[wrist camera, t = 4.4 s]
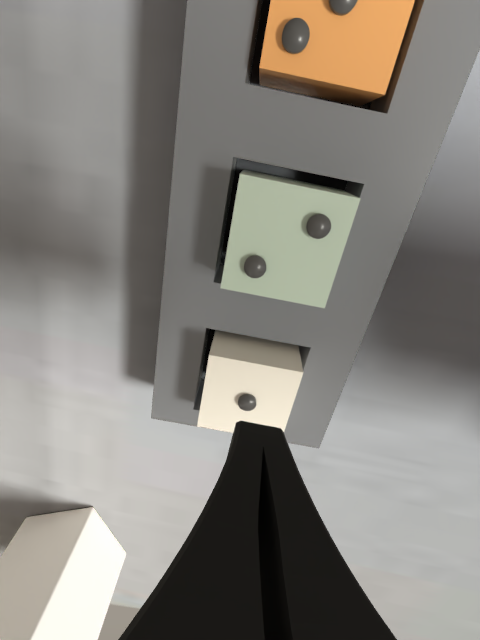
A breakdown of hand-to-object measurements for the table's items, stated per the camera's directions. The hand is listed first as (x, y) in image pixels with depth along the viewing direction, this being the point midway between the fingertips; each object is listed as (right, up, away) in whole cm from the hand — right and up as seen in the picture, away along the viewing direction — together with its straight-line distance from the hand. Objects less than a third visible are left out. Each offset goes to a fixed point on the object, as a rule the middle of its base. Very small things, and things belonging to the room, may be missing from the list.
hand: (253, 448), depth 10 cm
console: (+1, +8, +5) cm, 10 cm away
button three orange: (+3, +15, +3) cm, 15 cm away
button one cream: (0, +2, +7) cm, 8 cm away
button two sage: (+1, +8, +5) cm, 10 cm away
